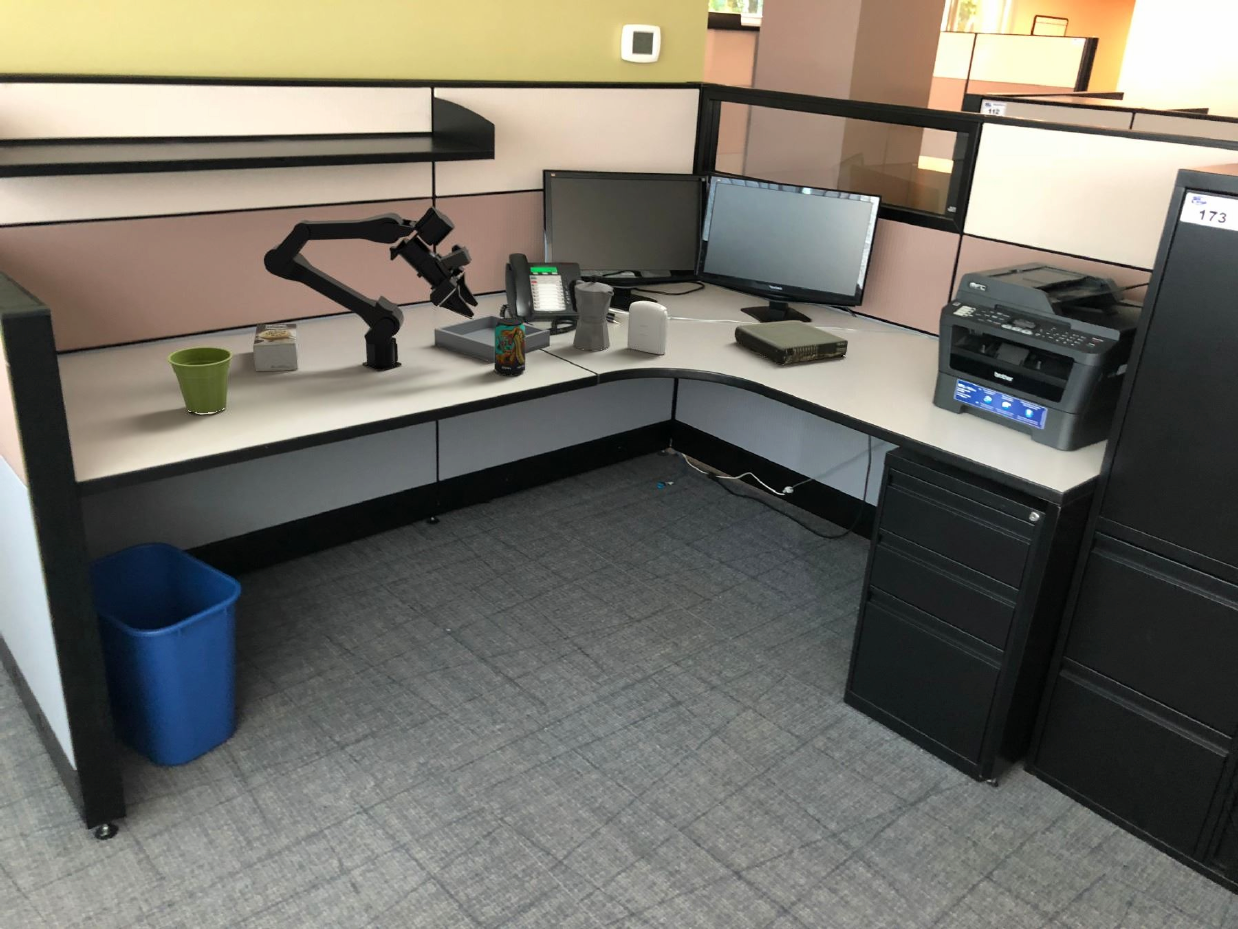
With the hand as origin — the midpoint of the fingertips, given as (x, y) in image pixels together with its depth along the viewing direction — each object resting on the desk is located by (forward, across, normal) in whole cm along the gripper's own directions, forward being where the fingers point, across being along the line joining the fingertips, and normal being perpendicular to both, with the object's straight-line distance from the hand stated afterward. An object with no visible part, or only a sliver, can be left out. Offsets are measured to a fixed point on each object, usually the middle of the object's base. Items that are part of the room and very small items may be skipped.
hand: (474, 310), depth 228 cm
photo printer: (+39, +20, -18) cm, 48 cm away
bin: (+11, +19, +8) cm, 24 cm away
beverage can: (+16, -1, +5) cm, 16 cm away
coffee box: (-24, -7, +38) cm, 45 cm away
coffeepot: (+29, +23, -8) cm, 38 cm away
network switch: (+66, +26, -44) cm, 83 cm away
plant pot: (-26, -32, +45) cm, 61 cm away
